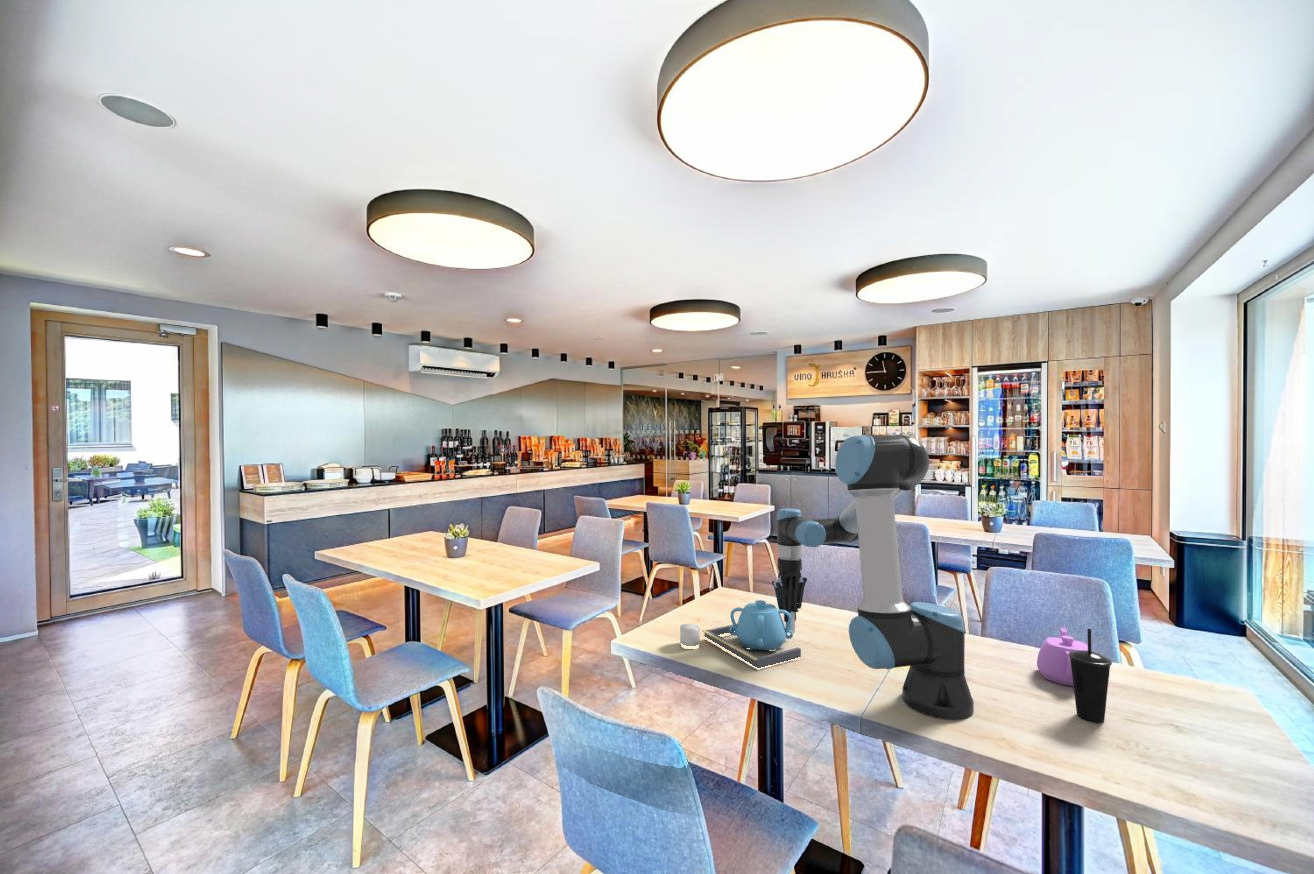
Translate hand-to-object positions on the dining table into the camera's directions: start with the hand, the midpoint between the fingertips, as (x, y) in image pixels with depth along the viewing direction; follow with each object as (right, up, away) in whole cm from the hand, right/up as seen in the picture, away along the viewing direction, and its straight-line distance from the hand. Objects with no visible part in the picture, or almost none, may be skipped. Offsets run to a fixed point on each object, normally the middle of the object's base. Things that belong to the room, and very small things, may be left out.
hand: (790, 631), depth 171 cm
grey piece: (-14, -3, -8) cm, 16 cm away
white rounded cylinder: (-32, -3, -5) cm, 33 cm away
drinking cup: (+56, -2, -49) cm, 74 cm away
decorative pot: (-10, -3, -4) cm, 11 cm away
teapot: (+66, -2, -29) cm, 72 cm away
